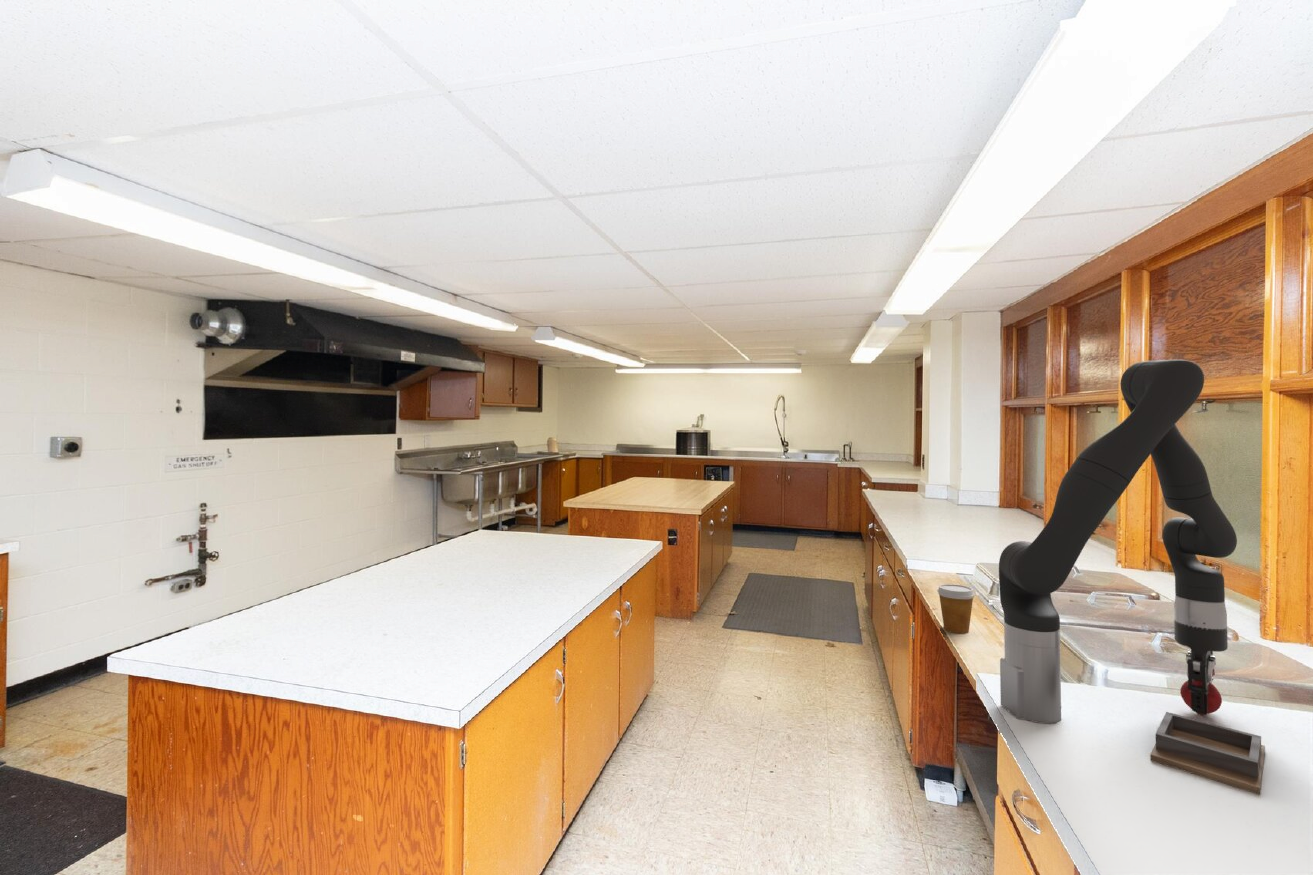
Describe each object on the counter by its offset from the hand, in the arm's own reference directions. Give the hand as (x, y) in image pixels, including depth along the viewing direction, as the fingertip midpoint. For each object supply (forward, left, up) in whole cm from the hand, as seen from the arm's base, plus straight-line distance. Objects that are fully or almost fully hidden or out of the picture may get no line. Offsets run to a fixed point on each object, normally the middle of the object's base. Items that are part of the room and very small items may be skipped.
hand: (1201, 706), depth 111 cm
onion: (0, 0, -2) cm, 2 cm away
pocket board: (-12, -15, -2) cm, 19 cm away
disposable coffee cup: (-23, +51, -2) cm, 56 cm away
